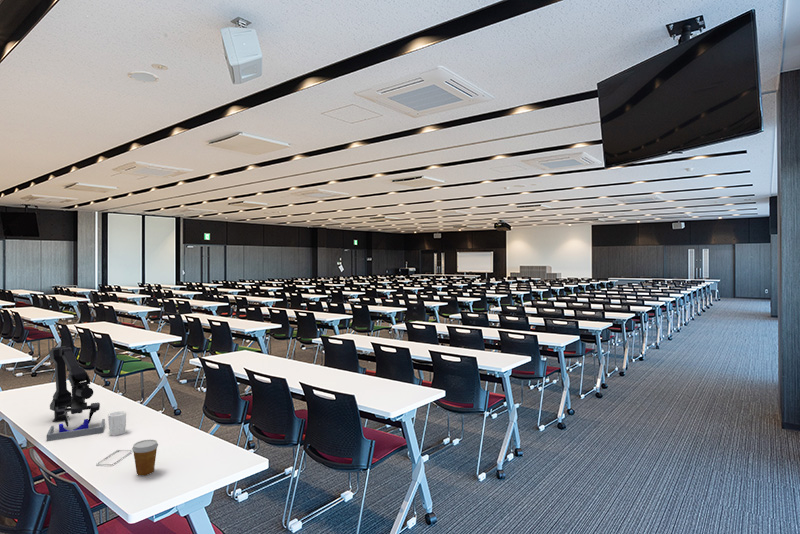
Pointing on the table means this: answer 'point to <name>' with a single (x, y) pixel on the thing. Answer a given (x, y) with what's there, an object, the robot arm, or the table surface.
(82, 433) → the box
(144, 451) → the disposable coffee cup
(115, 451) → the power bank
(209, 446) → the table surface
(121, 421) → the white cup
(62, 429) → the blue v notch block
